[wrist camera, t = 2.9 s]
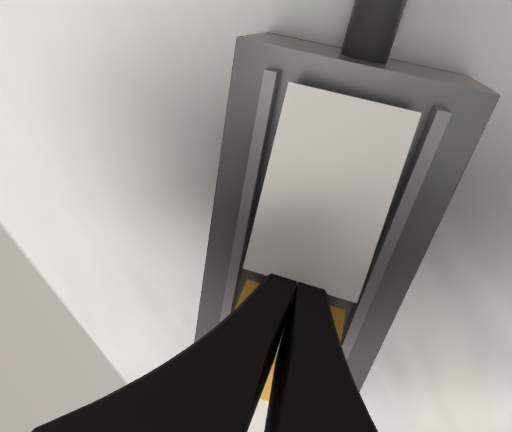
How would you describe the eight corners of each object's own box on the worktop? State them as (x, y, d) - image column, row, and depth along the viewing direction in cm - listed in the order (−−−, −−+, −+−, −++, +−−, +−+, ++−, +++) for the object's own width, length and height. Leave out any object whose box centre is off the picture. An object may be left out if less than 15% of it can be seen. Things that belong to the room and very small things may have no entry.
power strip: (305, -190, 10) (273, -293, 6) (566, -155, 9) (679, -255, 6) (208, 374, 20) (176, 443, 17) (323, 415, 19) (314, 496, 16)
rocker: (293, 85, 9) (288, 81, 8) (412, 114, 9) (421, 112, 8) (251, 255, 10) (242, 268, 9) (355, 286, 10) (357, 303, 9)
